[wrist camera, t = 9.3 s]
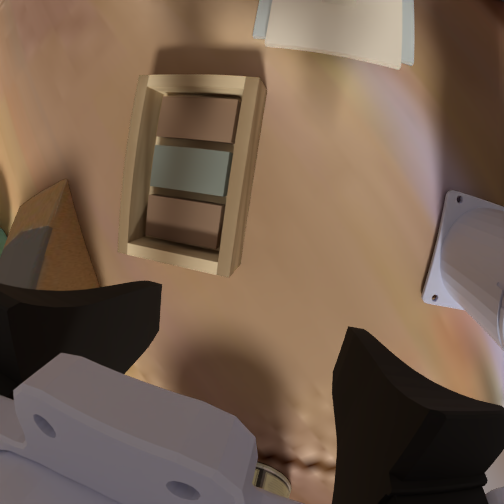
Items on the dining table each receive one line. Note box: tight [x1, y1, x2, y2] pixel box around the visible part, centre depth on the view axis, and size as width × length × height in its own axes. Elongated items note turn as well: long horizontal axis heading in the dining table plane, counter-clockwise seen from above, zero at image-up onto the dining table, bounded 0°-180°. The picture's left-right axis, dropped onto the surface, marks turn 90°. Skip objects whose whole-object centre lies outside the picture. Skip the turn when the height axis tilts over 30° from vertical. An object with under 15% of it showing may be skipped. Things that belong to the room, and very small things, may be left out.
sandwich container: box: [0, 179, 100, 291], centre depth 19 cm, size 9×15×15 cm, turn 16°
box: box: [118, 74, 267, 278], centre depth 20 cm, size 8×12×3 cm, turn 172°
